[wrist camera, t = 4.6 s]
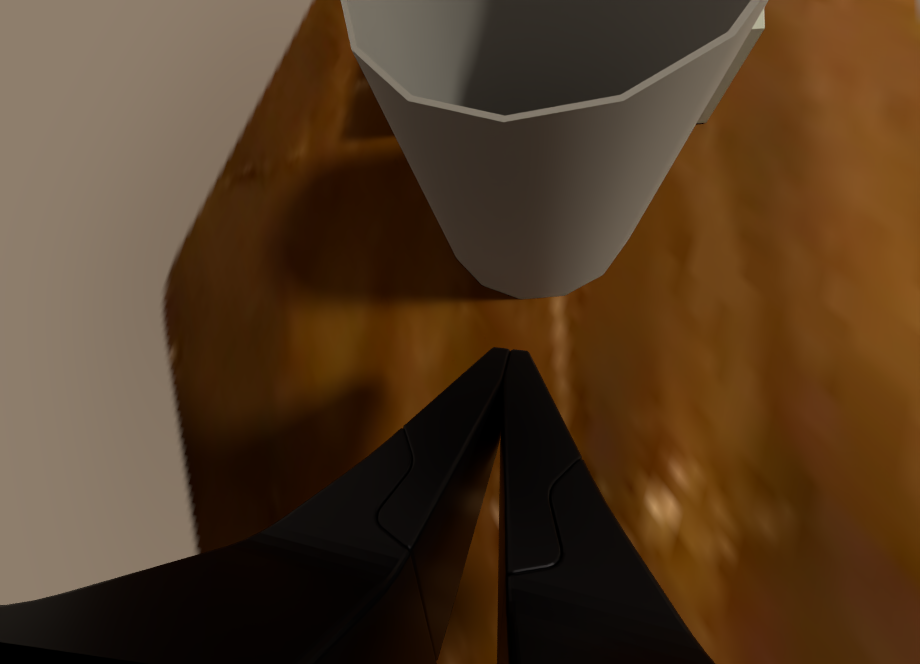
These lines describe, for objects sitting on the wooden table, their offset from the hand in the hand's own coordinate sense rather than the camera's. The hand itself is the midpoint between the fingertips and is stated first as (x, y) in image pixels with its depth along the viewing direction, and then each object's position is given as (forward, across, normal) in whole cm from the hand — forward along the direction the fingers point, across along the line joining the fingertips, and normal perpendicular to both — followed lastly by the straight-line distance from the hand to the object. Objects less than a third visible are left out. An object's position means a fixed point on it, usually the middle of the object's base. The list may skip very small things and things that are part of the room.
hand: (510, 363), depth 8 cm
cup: (+10, 0, -1) cm, 10 cm away
